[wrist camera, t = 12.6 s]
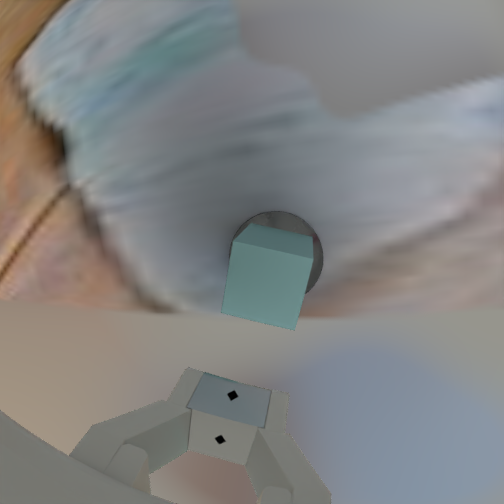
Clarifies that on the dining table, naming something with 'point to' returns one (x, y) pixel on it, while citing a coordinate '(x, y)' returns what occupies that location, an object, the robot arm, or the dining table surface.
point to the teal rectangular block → (268, 275)
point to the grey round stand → (293, 225)
